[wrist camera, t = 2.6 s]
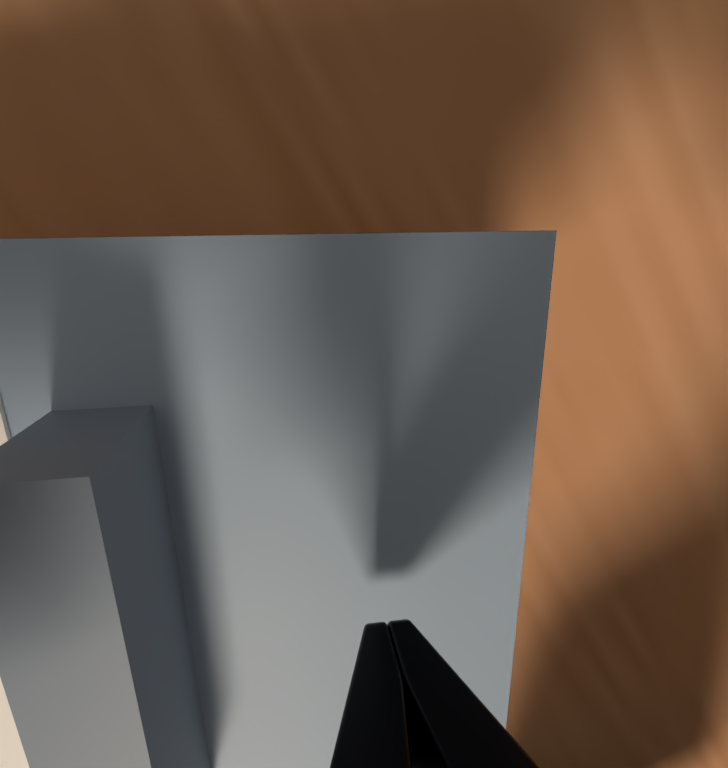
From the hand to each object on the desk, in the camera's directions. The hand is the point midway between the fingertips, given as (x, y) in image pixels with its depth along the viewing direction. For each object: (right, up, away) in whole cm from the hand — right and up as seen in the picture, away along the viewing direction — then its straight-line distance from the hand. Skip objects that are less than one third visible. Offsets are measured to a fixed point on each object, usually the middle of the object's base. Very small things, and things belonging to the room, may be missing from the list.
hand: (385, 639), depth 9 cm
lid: (-5, 0, +1) cm, 5 cm away
